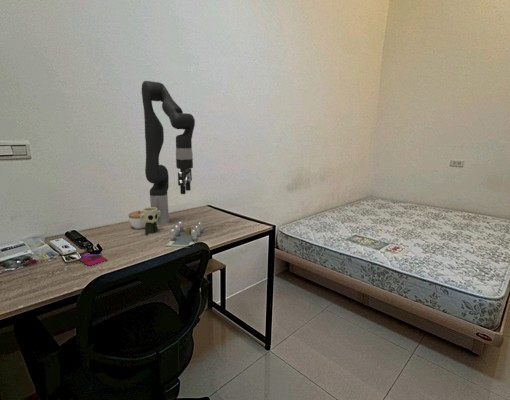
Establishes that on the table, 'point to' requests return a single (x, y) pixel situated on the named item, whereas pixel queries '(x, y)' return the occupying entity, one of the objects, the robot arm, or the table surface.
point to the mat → (181, 240)
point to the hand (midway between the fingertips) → (185, 192)
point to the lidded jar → (136, 220)
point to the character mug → (150, 219)
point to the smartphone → (91, 258)
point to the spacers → (179, 229)
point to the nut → (188, 230)
